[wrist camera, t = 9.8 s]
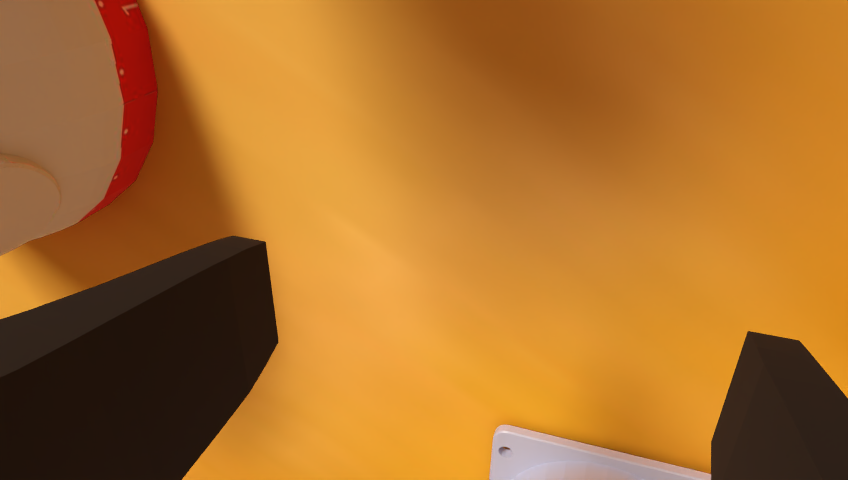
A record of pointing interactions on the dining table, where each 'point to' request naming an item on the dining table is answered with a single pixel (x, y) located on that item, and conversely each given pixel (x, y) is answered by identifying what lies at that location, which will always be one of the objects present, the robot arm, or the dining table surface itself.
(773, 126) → the dining table surface
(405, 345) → the dining table surface
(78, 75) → the kitchen timer
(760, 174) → the dining table surface
